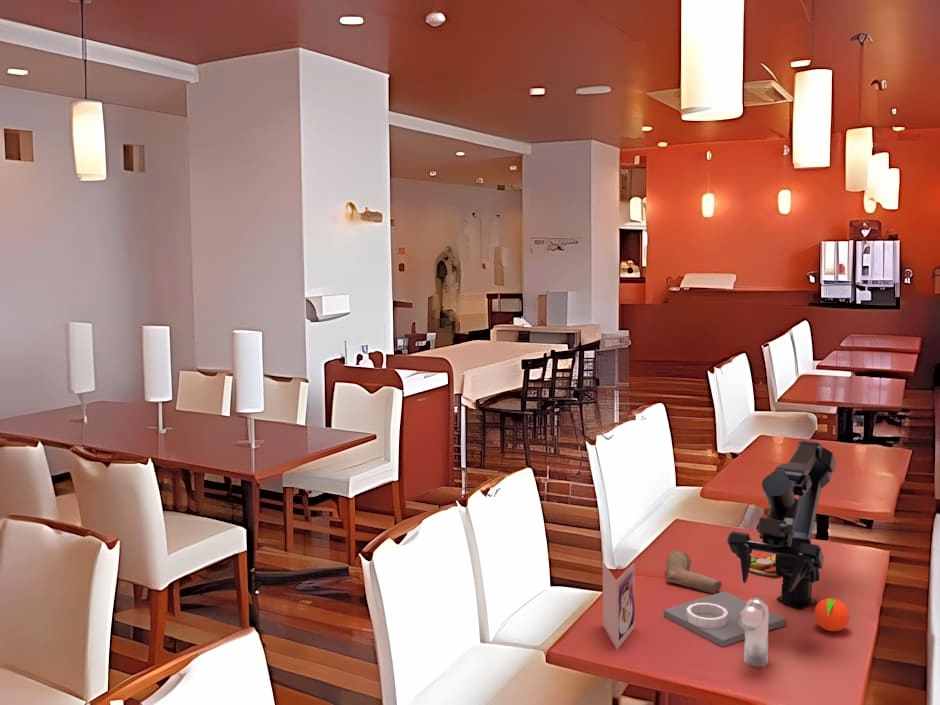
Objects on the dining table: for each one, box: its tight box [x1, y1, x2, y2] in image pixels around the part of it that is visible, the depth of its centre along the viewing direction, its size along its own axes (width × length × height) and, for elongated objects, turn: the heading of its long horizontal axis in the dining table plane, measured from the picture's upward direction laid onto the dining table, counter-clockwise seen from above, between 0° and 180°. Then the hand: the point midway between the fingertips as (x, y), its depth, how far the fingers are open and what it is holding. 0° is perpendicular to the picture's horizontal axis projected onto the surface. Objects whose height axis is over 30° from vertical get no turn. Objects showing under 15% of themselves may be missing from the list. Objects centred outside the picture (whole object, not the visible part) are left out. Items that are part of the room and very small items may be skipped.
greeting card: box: [602, 561, 636, 650], centre depth 187 cm, size 11×7×15 cm, turn 151°
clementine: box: [814, 597, 850, 632], centre depth 187 cm, size 8×7×7 cm
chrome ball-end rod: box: [738, 597, 770, 668], centre depth 172 cm, size 8×4×13 cm, turn 146°
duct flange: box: [663, 591, 786, 648], centre depth 193 cm, size 19×18×4 cm
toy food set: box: [749, 551, 777, 577], centre depth 223 cm, size 13×13×3 cm
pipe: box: [666, 550, 722, 595], centre depth 215 cm, size 6×17×10 cm
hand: (766, 586), depth 179 cm, fingers open, 9 cm apart
